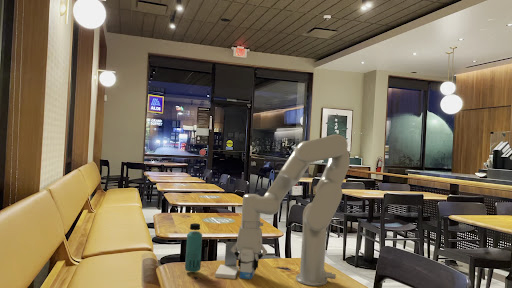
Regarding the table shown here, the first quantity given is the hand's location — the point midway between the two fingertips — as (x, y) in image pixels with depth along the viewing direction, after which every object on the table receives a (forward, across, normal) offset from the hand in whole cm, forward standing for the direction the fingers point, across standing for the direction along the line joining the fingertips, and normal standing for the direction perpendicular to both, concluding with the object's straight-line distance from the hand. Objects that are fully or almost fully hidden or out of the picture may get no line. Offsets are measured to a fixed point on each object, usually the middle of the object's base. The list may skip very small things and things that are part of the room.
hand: (247, 268), depth 160 cm
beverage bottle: (+3, +22, +2) cm, 23 cm away
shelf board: (+3, +8, -1) cm, 9 cm away
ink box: (+3, 0, 0) cm, 3 cm away
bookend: (+1, +8, -6) cm, 10 cm away
